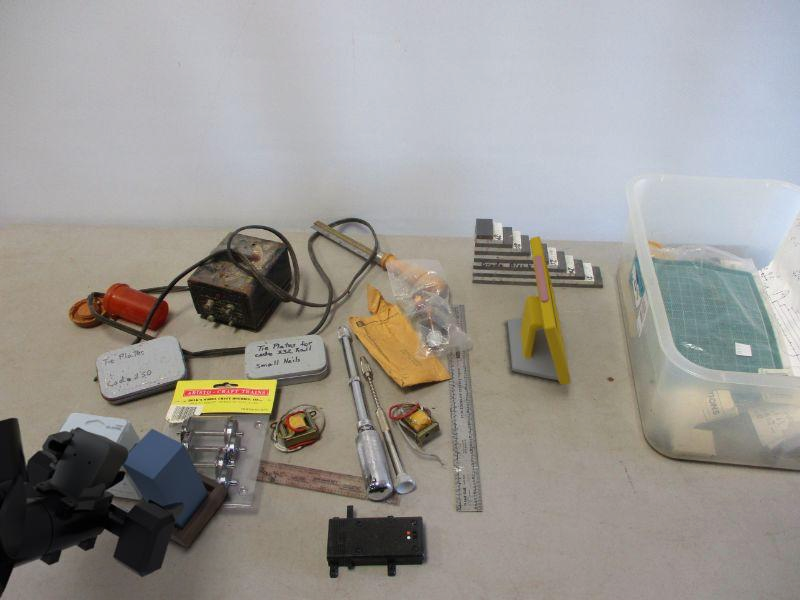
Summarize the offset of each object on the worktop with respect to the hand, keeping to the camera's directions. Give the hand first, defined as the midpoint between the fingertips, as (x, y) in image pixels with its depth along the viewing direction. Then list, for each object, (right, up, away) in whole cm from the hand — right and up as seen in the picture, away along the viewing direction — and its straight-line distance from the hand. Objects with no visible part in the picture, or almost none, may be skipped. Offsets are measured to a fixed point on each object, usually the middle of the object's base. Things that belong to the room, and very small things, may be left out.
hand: (152, 490), depth 70 cm
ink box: (-9, -2, +11) cm, 14 cm away
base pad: (+1, -5, +8) cm, 9 cm away
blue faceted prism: (+1, -4, +7) cm, 8 cm away
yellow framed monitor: (+51, +15, +27) cm, 60 cm away
